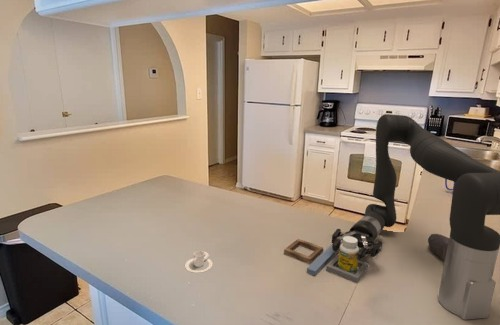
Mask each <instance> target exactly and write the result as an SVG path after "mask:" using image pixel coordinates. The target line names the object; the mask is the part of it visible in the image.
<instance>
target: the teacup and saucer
mask: <svg viewBox="0 0 500 325" xmlns="http://www.w3.org/2000/svg"><path fill="white" fill-rule="evenodd" d="M192 256H193V258H190V259H188V260H187V261H186V262H185V265H184V269H186V270H187V271H188V272H190V273H195V274H198V273H204V272H207V271H210V269H211V268H212V267H213V261H212V260H211V259H210V258H209V257H210V254H209V253H208V252H206V251H202V250H197V251H194V252H193V255H192ZM191 262H193V266H195V267H196V268H197V267H198V268H201V267H203V265H204V262H208V266H207V267H206V268H205V269H201V270H196V269H195V270H194V269H192V268H190V263H191Z"/></svg>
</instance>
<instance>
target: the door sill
mask: <svg viewBox="0 0 500 325" xmlns="http://www.w3.org/2000/svg"><path fill="white" fill-rule="evenodd" d="M338 253H339V249H338V250H337V251H336V252H335V251H333V249H332V244H330V246H329V247H327V249H325V250H323V252H322V253H321V254H320V255H319V256H318V257H317V258H316V259H315V260H314V261H313V262H312V263H310V264H309V266H308V267H307V268H306V274H309V275H311V276H314V277H315V276H317V275H318V273H320V272H321V270H322V269H323V268H324V267H326V266H327V265H328V264H329V263H330V262H331V261H332V260H333V259H334V258H335V256H336V255H337V254H338Z"/></svg>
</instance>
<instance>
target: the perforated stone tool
mask: <svg viewBox="0 0 500 325" xmlns="http://www.w3.org/2000/svg"><path fill="white" fill-rule="evenodd" d="M427 242H428V246H429V248H430V250H431V251H432V252H433V253H434V254H435V255H436V256H437V257H439V258H440V259H441V260H442V261H444V262H445V257H446V252H447V247H448V242H449V237H448V236H446V235H442V234H439V233H432V234H429V236H428V238H427Z"/></svg>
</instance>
